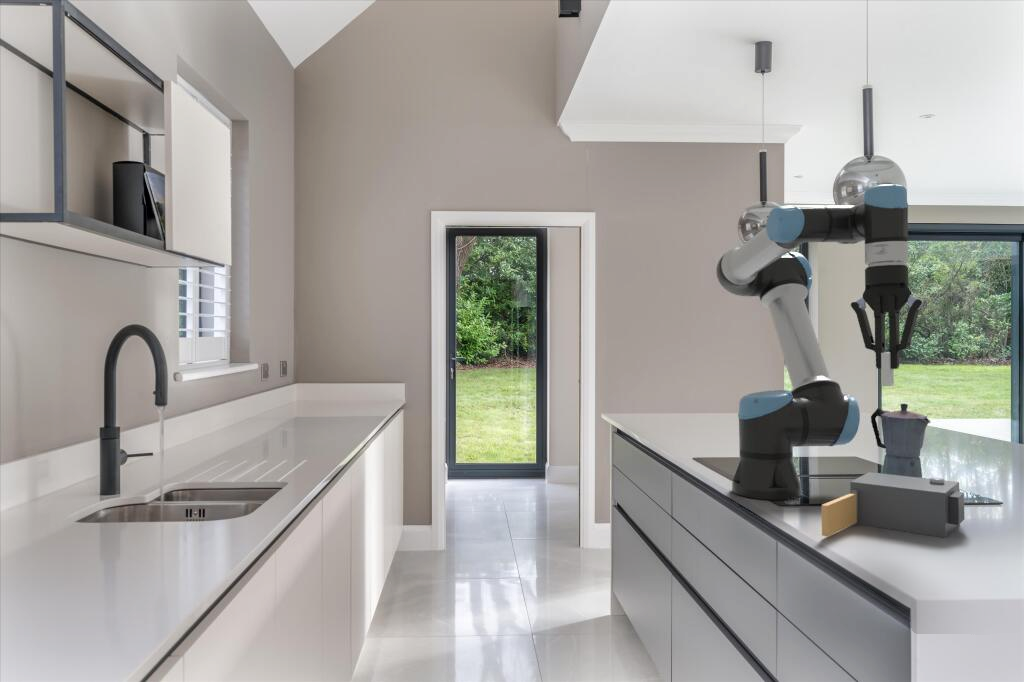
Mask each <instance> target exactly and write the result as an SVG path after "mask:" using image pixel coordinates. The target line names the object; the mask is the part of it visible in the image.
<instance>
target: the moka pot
mask: <svg viewBox="0 0 1024 682" xmlns="http://www.w3.org/2000/svg"><path fill="white" fill-rule="evenodd" d="M908 406H909V404H908V403H900V409H899V410H895V411H890V410H883V409H881V408H876V410H875V411H874V412H873V413H872V415H870V423H871V425H872V430H873V433H874V436H875V441H876V446H877V447H879V448H881V449H885V455H884V459H883V465H882V470H881V474H890V475H899V476H909V477H918V478H923V472H922V461H921V458H920V456H921V450H922V448H923V445H924V439H925V434H926V428H927V427H928V425H929V424H931V420H930V419H929V418H928V416H927V415H924V414H921V413H916V412H913V411H909V410H908ZM877 417H880V419H881V428H882V439H883V443H882V440H881V437H880V432H879V427H878V423H877V421H876V420H877Z"/></svg>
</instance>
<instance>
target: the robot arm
mask: <svg viewBox="0 0 1024 682" xmlns="http://www.w3.org/2000/svg"><path fill="white" fill-rule="evenodd" d="M907 191H908V190H907V188H906V187H905V186H904V185H901V184H897V183H896V184H880V185H875V186H870V187H868V188H867V189H865V191H864V193H863V200H862V203H859V204H855V205H795V204H794V205H793V204H788V205H780V206H775V207H774V208H772V209H771V210H770V212H769V215H768V216H767V219H766V224H765V227H764V228H763V229H761V230H760V231H759V232H757V233H756V234H755V235H753V236H752V237H750V239H748V240H747V241H746V242H745V243H744V244H742V245H741V246H739V247H735V248H734V247H733V248H731V249H730V250H728V251H727V252H725V253H724V254H723V255H722V256H721V257H720V258H719V260H718V262H717V265H716V272H715V274H716V278H717V280H718V282H719V284H720V286H721V287H722V288H723V289H725V290H726V291H727V292H729V293H730V294H732V295H735V296H739V297H759V300H760V303H761V305H762V307H763V308H764V309H766V310H768V311H769V312H770V316H771V319H772V323H773V326H774V329H775V333H776V336H777V338H778V339H777V340H778V343H779V345H780V349H781V352H782V356H783V360H784V363H785V366H786V370H787V373H788V377H789V379H790V382H791V387H792V389H791V390H785V389H784V390H783V389H776V390H764V391H758V392H757V391H756V392H752V393H749V394H746V395H744V396H742V397H741V398H740V400H739V404H738V406H739V409H738V415H737V418H738V430H739V431H738V439H739V442H738V443H739V444H738V445H739V460H738V462H737V466H736V468H735V472H734V474H733V478H732V481H731V489H732V492H733V493H734V494H735V495H739V496H741V497H745V498H749V499H759V500H773V501H775V500H776V501H777V500H779V501H780V500H790V499H791V500H793V499H797V498H799V497H801V496H802V494H803V493H802V483H801V480H800V477H799V475H798V472H797V469H796V466H795V463H794V458H793V457H794V455H793V454H794V452H793V451H794V447H795V448H796V447H797V448H798V447H834V446H843V445H847V444H850V443H851V442H852V441H853V440H854V439H855V437H856V435H857V433H858V431H859V427H860V419H861V418H860V417H861V415H860V414H861V413H860V408H859V404H858V401H857V400H856V398H855V397H854V396H853V395H850V394H847V393H846V394H843V392H842V388H841V385H840V384H839V383H838V381H836V380H833V379H831V378H830V375H829V371H828V368H827V366H826V365H827V364H826V362H825V359H824V356H823V354H822V351H821V348H820V344H819V341H818V338H817V336H816V332H815V329H814V326H813V323H812V319H811V317H810V314H809V313H810V312H809V310H808V308H807V305H806V303H805V299H806V298H807V297H808V294H809V291H810V290H811V287H812V285H813V278H812V275H813V273H812V267H811V264H810V263H809V260H808V259H807V258H806V257H805V256H804V255H803V254H801V253H799V252H796V251H793V250H794V249H796V248H797V247H799V246H800V245H801V246H802V244H804V243H838V244H839V245H840V244H841V245H850V244H851V245H854V244H857V243H859V242H862V241H864V264H865V265H867V267H866V268H865V269H864V287H865V288H864V291H863V292H862V297H861V298H859V299H857V300H856V301H852V302H851V303H850V307H851V308H852V310H853V311H854V313H855V314H856V318H857V321H858V325H859V328H860V332H861V336H862V340H863V343H864V348H865V349H867V350H870V351H873V352H874V353H875V368H876V369H881V370H880V371H881V378H880V379H881V387H894V385H895V382H894V380H895V379H894V378H895V377H894V373H895V372H894V370H898V369H899V367H900V352H901V351H904V350H907V349H909V348H910V347H911V343H912V338H913V335H914V331H915V327H916V324H917V320H918V316H919V311H920V310H921V309H922V308H923V306H924V305H925V300H924V299H919V298H918V297H916V296H914V295H912V291H911V290H910V287H909V267H908V265H906V263H908V262H909V242H908V241H909V239H908V238H909V232H908V230H909V228H908V227H909V203H908V193H907ZM907 302H908V308H909V309H908V310H907V311H908V312H907V315H906V319H905V324H904V327H903V331H902V335H901V340H900V316H901V313H900V312H901V310H902V309H903V308H904V307H905V305H906V304H907ZM866 304H867V305H868V307H870V309H871V310H872V311H873V317H874V335H873V332H872V328H871V324H870V322H869V318H868V314H867V311H866V308H867V305H866ZM886 313H887V314H888V315H887V316H888V332H889V333H888V334H889V335H888V341H889V343H888V344H889V345H888V347H889V349H888V351H887V348H886ZM886 351H887V352H886Z"/></svg>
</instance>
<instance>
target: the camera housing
mask: <svg viewBox="0 0 1024 682" xmlns="http://www.w3.org/2000/svg"><path fill="white" fill-rule="evenodd" d="M849 484H850V488H849V489H850V493H852V490H858V524H857V525H860V526H861V525H862V526H868V527H874V528H880V529H881V528H882V529H887V530H894V531H901V532H907V533H914V534H919V535H925V536H932V537H940V538H943V539H944V538H945V539H946V538H947V537H948V536H949V535H950V534H951V533H952V532H953V531H954V530H955V529H956V528H957V527H958V526H960V525H961V523H963V521H964V520H965V492H962V491H960V481H952V480H951V481H950V480H945V479H944V478H942V477H941V478H940V477H929V478H926V477H922V478H918V477H909V476H899V475H890V474H882V472H872V471H871V472H870V471H869V472H866V473H865V474H863V475H861V476H859V477H857V478H854V479H853V480H851V481H850V483H849Z"/></svg>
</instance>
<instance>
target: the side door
mask: <svg viewBox="0 0 1024 682" xmlns="http://www.w3.org/2000/svg"><path fill="white" fill-rule="evenodd" d="M852 525H859V524H858V490H852V493H851V492H850V493H848V494H845V495H843V496H840V497H838V498H836V499H833V500H831V501H828V502H825V503H823V504H821V536H823V537H830V536H832V535H833V534H836V533H838V532H840V531H842V530H844V529H846V528H848V527H850V526H852Z"/></svg>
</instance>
